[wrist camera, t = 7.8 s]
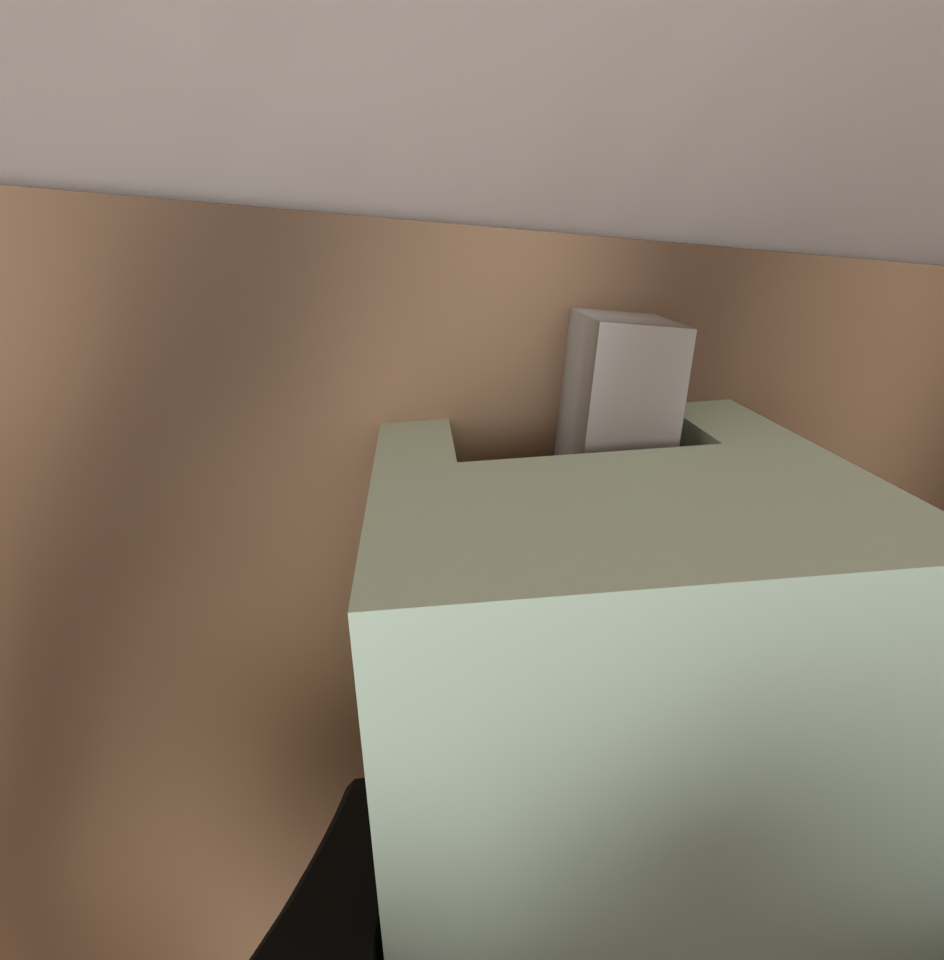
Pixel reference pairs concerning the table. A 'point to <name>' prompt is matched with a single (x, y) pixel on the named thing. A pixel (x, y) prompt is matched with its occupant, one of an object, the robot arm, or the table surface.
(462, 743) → the cabinet block
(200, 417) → the cleat board
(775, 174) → the table surface
